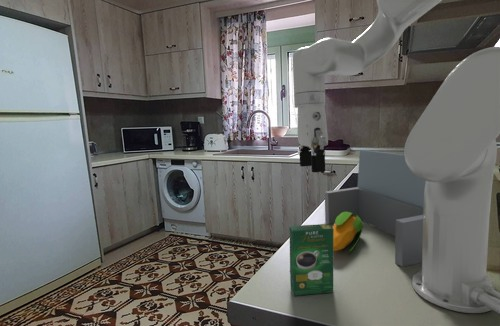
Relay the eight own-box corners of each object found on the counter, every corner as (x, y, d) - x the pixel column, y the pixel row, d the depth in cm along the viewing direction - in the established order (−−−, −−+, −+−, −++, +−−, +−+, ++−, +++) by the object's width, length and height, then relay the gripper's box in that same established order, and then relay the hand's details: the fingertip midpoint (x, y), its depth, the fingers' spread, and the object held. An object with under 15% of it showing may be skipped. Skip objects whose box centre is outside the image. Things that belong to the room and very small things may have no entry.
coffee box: (330, 285, 58) (328, 221, 57) (335, 293, 56) (334, 227, 54) (290, 288, 58) (287, 225, 56) (293, 297, 55) (290, 230, 53)
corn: (364, 206, 82) (350, 232, 65) (366, 233, 83) (353, 265, 66) (337, 206, 86) (317, 230, 68) (340, 231, 86) (320, 261, 69)
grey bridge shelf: (444, 256, 67) (446, 214, 65) (402, 267, 63) (402, 222, 62) (357, 216, 96) (357, 187, 95) (325, 222, 93) (324, 191, 91)
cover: (446, 214, 65) (449, 214, 66) (451, 160, 64) (455, 160, 64) (357, 187, 95) (360, 186, 95) (359, 150, 93) (362, 149, 94)
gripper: (338, 96, 65) (340, 173, 67) (312, 102, 82) (314, 163, 84) (305, 98, 64) (308, 176, 66) (286, 103, 81) (289, 165, 83)
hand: (311, 168), depth 75 cm, fingers open, 9 cm apart
